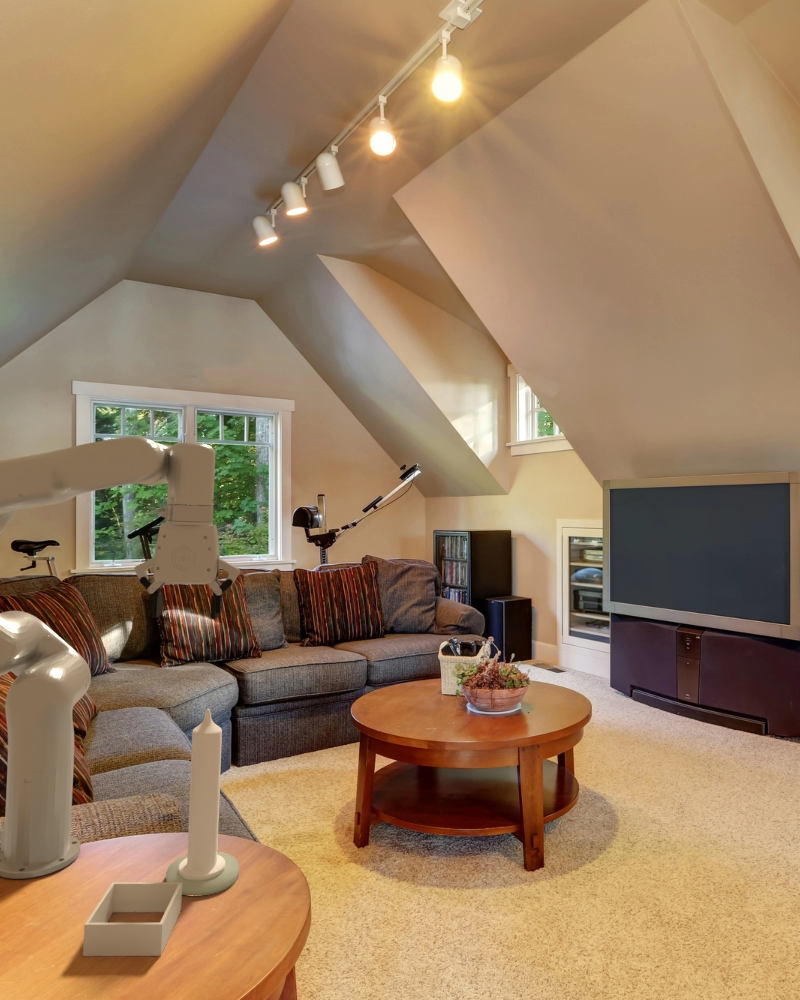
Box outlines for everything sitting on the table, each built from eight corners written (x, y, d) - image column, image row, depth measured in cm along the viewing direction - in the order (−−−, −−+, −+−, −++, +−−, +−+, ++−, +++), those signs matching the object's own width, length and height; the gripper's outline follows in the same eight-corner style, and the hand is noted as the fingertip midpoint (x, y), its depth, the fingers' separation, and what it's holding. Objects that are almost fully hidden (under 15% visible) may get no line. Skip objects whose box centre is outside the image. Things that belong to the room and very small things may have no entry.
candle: (211, 884, 101) (218, 717, 101) (169, 877, 102) (175, 713, 103) (232, 860, 108) (238, 704, 108) (192, 854, 109) (198, 700, 110)
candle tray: (82, 956, 85) (84, 924, 86) (111, 910, 95) (112, 882, 95) (160, 955, 86) (162, 924, 86) (181, 910, 96) (182, 882, 96)
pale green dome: (149, 885, 102) (150, 877, 102) (198, 852, 112) (198, 845, 112) (207, 904, 98) (208, 896, 98) (252, 868, 108) (253, 861, 108)
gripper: (130, 514, 109) (125, 619, 109) (237, 518, 110) (233, 622, 110) (144, 514, 116) (140, 612, 116) (245, 517, 117) (241, 615, 117)
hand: (185, 617), depth 113 cm, fingers open, 9 cm apart
